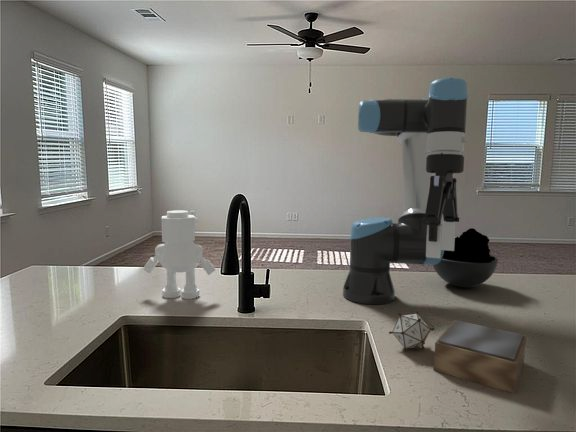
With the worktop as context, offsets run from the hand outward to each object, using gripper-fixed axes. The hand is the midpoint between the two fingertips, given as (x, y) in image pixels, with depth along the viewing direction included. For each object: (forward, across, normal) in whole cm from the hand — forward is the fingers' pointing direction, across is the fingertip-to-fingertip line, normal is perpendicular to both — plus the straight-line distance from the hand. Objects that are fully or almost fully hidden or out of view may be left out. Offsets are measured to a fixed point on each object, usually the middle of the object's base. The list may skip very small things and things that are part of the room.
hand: (440, 253), depth 91 cm
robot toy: (+19, -6, +72) cm, 75 cm away
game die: (+21, -3, +5) cm, 22 cm away
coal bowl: (+17, +52, +4) cm, 55 cm away
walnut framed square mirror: (+21, -4, -9) cm, 23 cm away
